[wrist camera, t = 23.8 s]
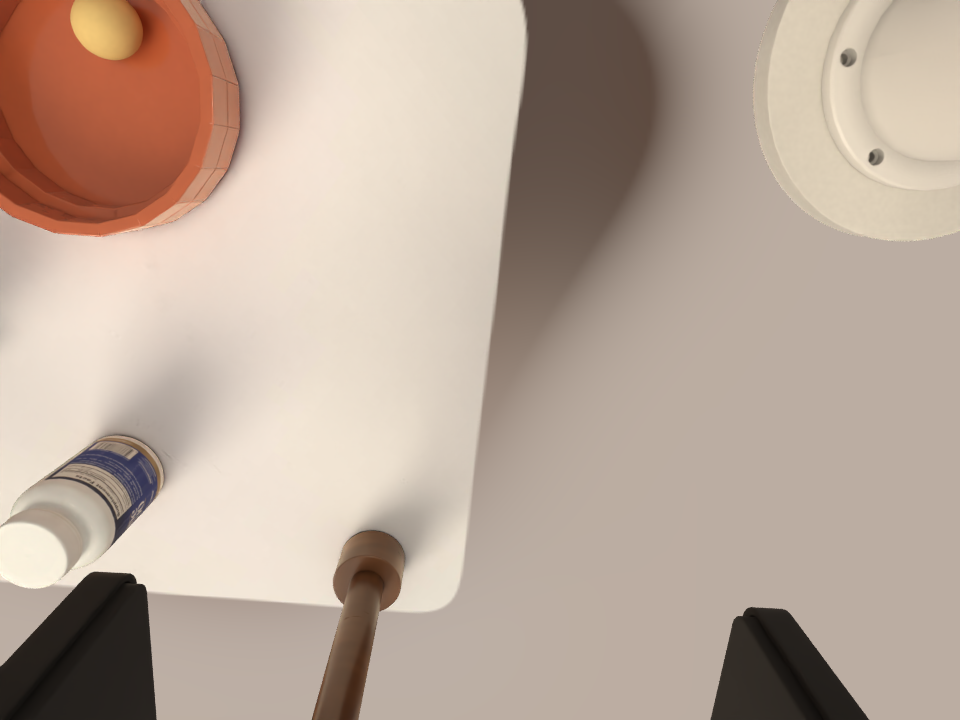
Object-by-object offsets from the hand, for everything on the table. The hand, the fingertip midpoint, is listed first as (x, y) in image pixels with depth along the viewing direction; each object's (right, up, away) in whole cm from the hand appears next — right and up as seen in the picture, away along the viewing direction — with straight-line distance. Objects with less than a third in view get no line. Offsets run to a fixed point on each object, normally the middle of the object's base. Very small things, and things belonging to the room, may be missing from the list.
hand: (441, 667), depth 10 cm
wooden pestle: (-7, -9, +34) cm, 36 cm away
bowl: (-20, +20, +25) cm, 38 cm away
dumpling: (-18, +22, +22) cm, 36 cm away
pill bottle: (-23, -2, +32) cm, 39 cm away
